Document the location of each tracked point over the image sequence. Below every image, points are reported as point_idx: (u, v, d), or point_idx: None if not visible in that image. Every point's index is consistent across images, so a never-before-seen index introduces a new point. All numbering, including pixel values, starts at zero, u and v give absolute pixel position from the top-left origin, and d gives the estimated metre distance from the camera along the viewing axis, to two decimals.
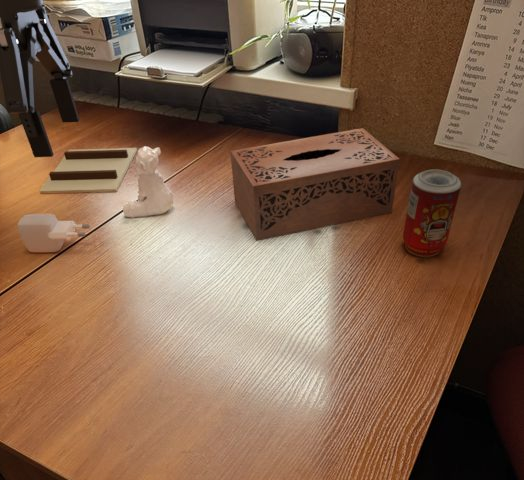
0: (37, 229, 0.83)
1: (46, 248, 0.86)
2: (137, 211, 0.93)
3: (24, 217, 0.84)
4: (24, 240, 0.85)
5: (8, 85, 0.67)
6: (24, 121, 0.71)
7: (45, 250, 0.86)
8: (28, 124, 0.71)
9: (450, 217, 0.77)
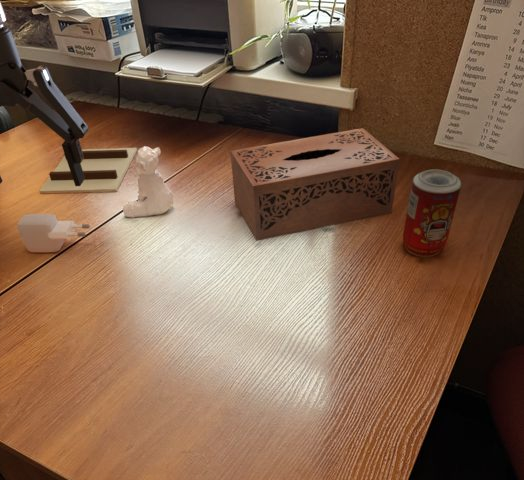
0: (37, 229, 0.83)
1: (46, 248, 0.86)
2: (137, 211, 0.93)
3: (24, 217, 0.84)
4: (24, 240, 0.85)
5: (71, 113, 0.72)
6: (77, 147, 0.75)
7: (45, 250, 0.86)
8: (79, 149, 0.76)
9: (450, 217, 0.77)
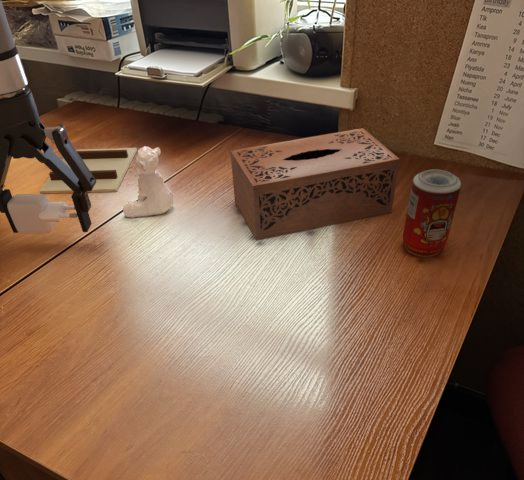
0: (27, 209, 0.81)
1: (36, 230, 0.84)
2: (137, 211, 0.93)
3: (14, 197, 0.82)
4: (14, 221, 0.83)
5: (82, 169, 0.77)
6: (86, 198, 0.81)
7: (36, 232, 0.84)
8: (87, 199, 0.82)
9: (450, 217, 0.77)
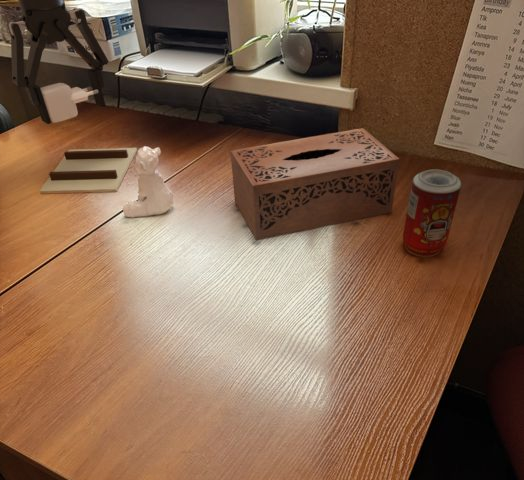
0: (62, 93, 0.96)
1: (69, 113, 0.99)
2: (137, 211, 0.93)
3: (42, 89, 0.95)
4: (50, 109, 0.96)
5: None
6: None
7: (68, 116, 0.99)
8: None
9: (450, 217, 0.77)
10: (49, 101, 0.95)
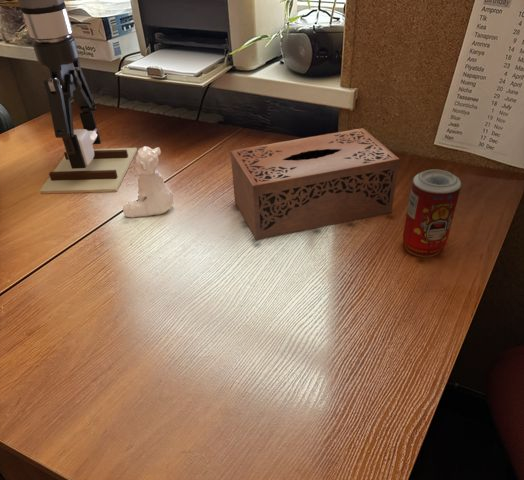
0: (86, 136, 1.02)
1: (92, 154, 1.05)
2: (137, 211, 0.93)
3: None
4: (85, 153, 1.02)
5: None
6: None
7: (92, 157, 1.05)
8: None
9: (450, 217, 0.77)
10: (83, 146, 1.01)
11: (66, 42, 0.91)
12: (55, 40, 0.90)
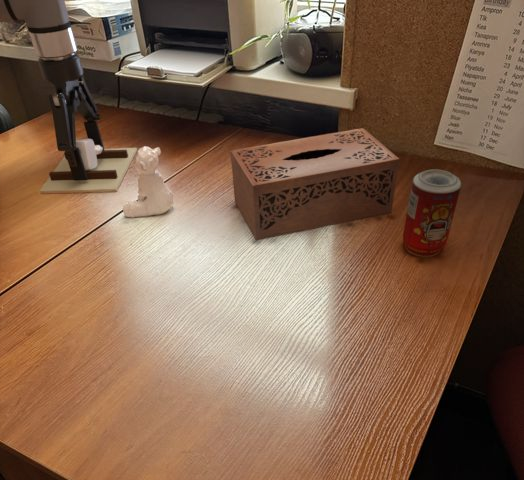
0: (91, 144, 1.05)
1: (95, 163, 1.07)
2: (137, 211, 0.93)
3: None
4: (88, 157, 1.03)
5: None
6: None
7: (95, 165, 1.07)
8: None
9: (450, 217, 0.77)
10: (87, 149, 1.03)
11: (71, 60, 0.93)
12: (60, 58, 0.92)
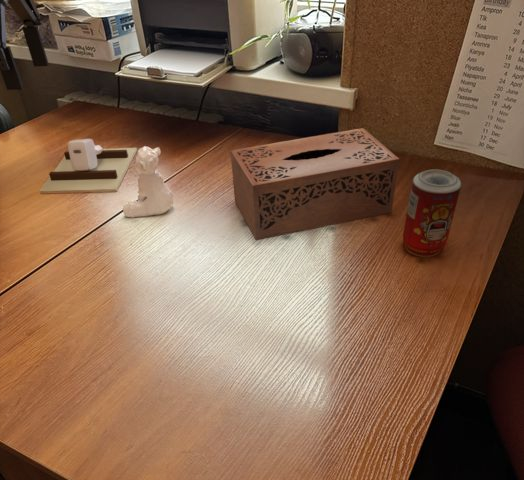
0: (91, 144, 1.05)
1: (95, 163, 1.07)
2: (137, 211, 0.93)
3: (75, 140, 1.02)
4: (88, 157, 1.03)
5: None
6: None
7: (95, 165, 1.07)
8: None
9: (450, 217, 0.77)
10: (87, 149, 1.03)
11: None
12: None
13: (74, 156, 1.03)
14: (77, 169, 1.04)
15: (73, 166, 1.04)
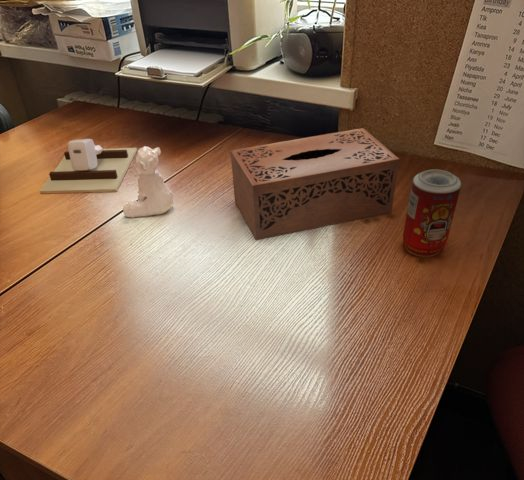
0: (91, 144, 1.05)
1: (95, 163, 1.07)
2: (137, 211, 0.93)
3: (75, 140, 1.02)
4: (88, 157, 1.03)
5: None
6: None
7: (95, 165, 1.07)
8: None
9: (450, 217, 0.77)
10: (87, 149, 1.03)
11: None
12: None
13: (74, 156, 1.03)
14: (77, 169, 1.04)
15: (73, 166, 1.04)
